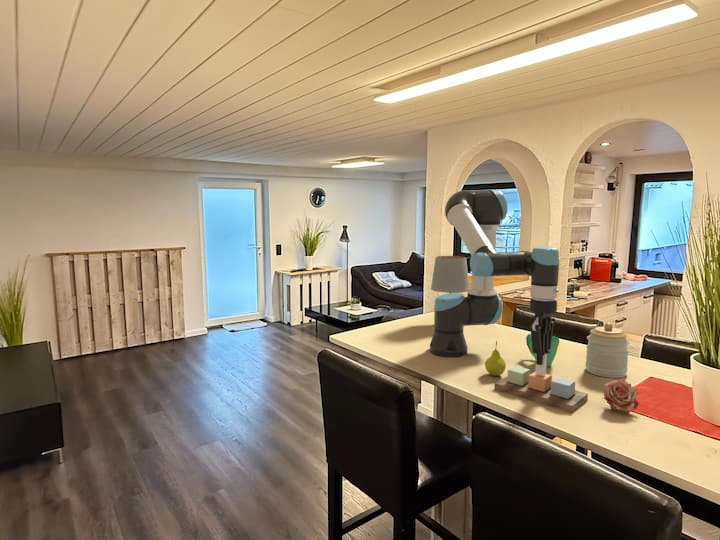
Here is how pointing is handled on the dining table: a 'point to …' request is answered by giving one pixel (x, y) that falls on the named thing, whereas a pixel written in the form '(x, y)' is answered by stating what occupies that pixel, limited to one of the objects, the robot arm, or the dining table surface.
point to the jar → (607, 352)
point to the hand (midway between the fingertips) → (540, 373)
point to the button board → (542, 395)
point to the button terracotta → (540, 382)
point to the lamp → (450, 274)
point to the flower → (621, 396)
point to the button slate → (563, 387)
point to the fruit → (495, 364)
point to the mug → (553, 350)
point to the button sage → (518, 375)
